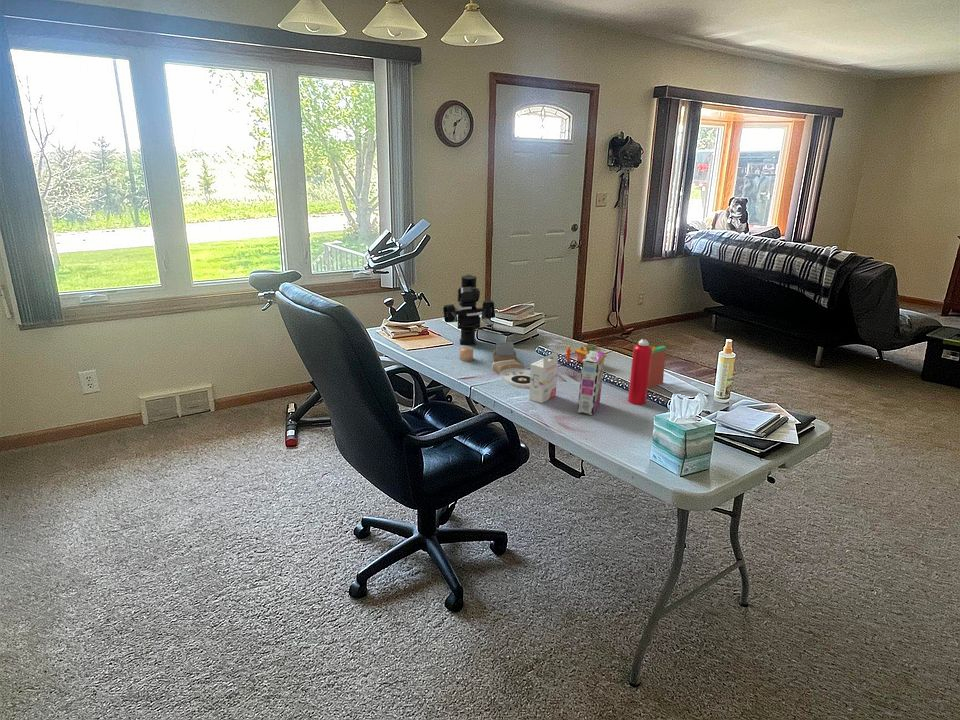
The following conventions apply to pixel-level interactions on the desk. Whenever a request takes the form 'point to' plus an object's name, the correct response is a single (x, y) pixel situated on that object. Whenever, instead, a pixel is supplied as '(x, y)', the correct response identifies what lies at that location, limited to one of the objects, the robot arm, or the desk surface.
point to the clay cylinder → (466, 354)
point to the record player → (512, 373)
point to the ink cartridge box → (543, 378)
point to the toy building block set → (655, 366)
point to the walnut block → (503, 357)
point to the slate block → (504, 348)
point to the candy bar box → (591, 382)
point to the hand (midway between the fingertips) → (469, 319)
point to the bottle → (640, 373)
